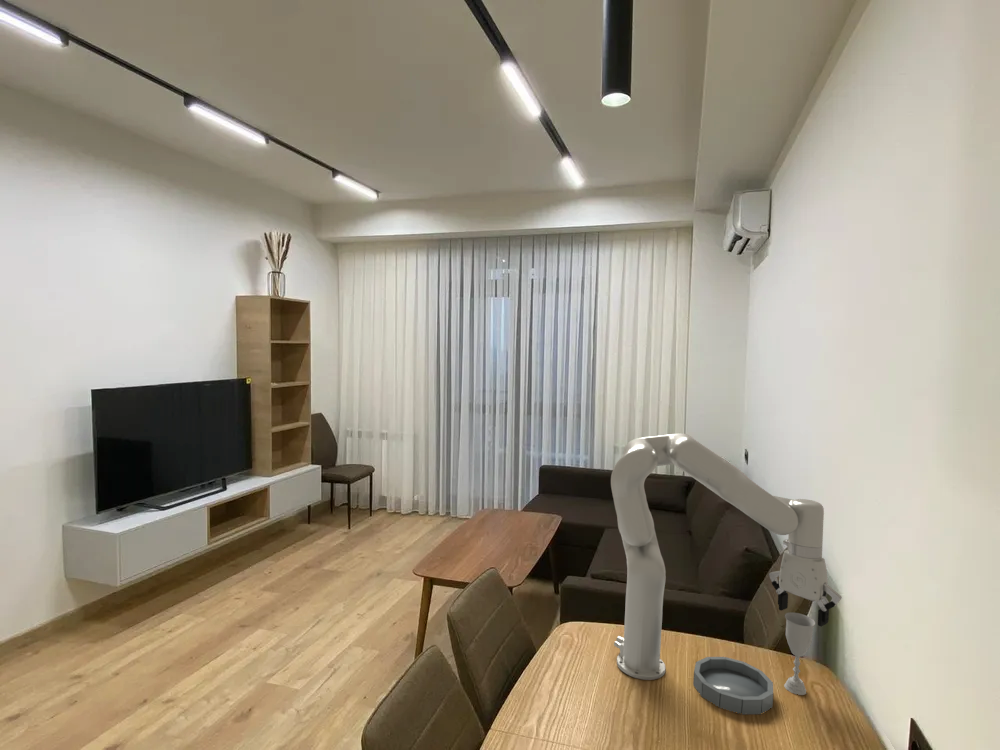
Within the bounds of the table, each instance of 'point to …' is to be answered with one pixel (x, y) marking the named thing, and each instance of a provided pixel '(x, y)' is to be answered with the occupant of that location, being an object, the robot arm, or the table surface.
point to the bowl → (733, 685)
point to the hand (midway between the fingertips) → (802, 616)
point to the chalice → (798, 646)
